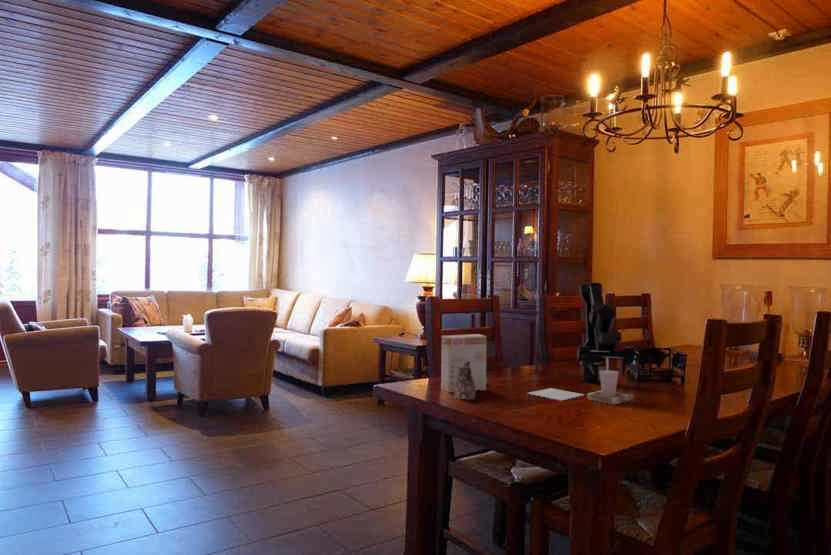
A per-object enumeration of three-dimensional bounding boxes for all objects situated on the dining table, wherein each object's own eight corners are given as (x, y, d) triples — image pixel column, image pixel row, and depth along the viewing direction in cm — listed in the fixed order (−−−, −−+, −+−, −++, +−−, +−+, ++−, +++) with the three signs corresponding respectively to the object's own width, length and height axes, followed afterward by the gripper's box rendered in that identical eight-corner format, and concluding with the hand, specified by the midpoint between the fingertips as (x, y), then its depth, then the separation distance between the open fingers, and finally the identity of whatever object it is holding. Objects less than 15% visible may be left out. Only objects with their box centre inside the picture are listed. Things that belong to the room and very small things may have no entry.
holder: (602, 395, 205) (602, 389, 205) (629, 400, 198) (630, 394, 198) (587, 399, 198) (587, 393, 198) (614, 405, 191) (614, 398, 191)
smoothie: (595, 398, 201) (596, 357, 201) (613, 398, 201) (614, 357, 201) (602, 402, 194) (603, 360, 194) (621, 402, 195) (622, 360, 195)
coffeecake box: (477, 386, 217) (478, 333, 217) (486, 390, 211) (487, 336, 210) (440, 389, 212) (441, 334, 212) (448, 393, 206) (448, 337, 205)
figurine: (449, 397, 199) (450, 361, 198) (462, 394, 204) (463, 359, 204) (466, 400, 194) (467, 364, 194) (479, 397, 199) (480, 362, 199)
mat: (550, 389, 215) (550, 388, 215) (584, 395, 205) (584, 394, 205) (527, 394, 206) (527, 393, 206) (561, 401, 195) (561, 400, 195)
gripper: (579, 322, 204) (583, 359, 193) (635, 324, 202) (642, 361, 191) (575, 342, 212) (579, 378, 201) (629, 344, 209) (636, 381, 199)
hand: (609, 374), depth 198 cm, fingers open, 9 cm apart
